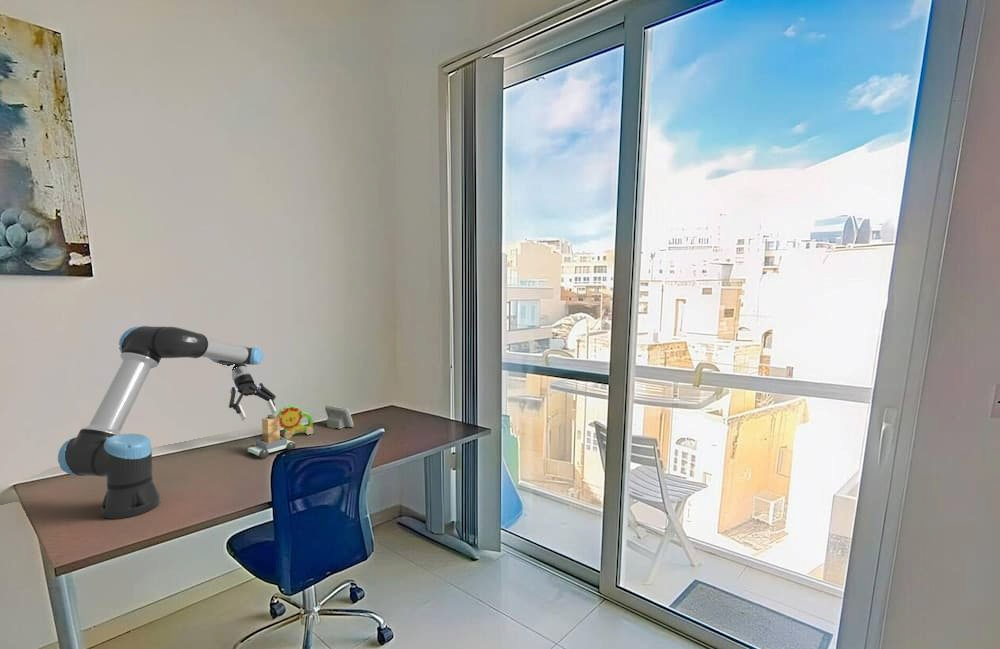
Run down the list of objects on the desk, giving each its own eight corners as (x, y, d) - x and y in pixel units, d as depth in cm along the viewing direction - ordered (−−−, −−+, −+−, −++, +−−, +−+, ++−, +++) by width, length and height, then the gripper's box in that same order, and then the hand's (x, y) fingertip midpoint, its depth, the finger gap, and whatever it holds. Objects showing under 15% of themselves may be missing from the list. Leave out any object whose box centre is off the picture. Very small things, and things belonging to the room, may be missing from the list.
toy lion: (310, 431, 235) (310, 401, 234) (314, 434, 231) (313, 404, 229) (276, 438, 225) (275, 406, 224) (279, 441, 221) (278, 409, 220)
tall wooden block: (268, 447, 203) (267, 417, 202) (262, 445, 205) (261, 415, 204) (280, 444, 207) (279, 415, 206) (274, 442, 210) (273, 413, 208)
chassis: (259, 459, 197) (259, 446, 196) (246, 454, 203) (246, 441, 203) (295, 449, 209) (295, 437, 209) (282, 444, 216) (282, 432, 215)
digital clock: (355, 427, 242) (355, 407, 241) (339, 432, 235) (339, 411, 234) (338, 421, 252) (337, 402, 252) (322, 425, 246) (321, 405, 245)
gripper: (266, 379, 231) (283, 414, 223) (210, 387, 211) (227, 426, 203) (271, 369, 227) (289, 405, 219) (216, 377, 207) (233, 416, 199)
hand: (259, 415), depth 211 cm, fingers open, 13 cm apart
